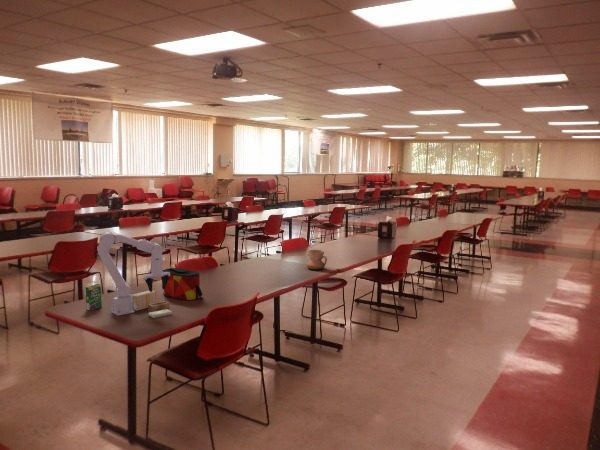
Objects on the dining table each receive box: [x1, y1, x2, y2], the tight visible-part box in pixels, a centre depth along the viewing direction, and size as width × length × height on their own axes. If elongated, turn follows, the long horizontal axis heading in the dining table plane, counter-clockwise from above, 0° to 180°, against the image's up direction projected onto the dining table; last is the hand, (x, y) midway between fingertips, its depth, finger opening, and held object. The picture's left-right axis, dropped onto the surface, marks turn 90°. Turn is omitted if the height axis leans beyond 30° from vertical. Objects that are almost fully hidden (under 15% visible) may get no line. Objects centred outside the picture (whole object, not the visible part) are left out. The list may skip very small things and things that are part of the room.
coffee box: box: [84, 283, 103, 312], centre depth 256 cm, size 8×3×13 cm, turn 151°
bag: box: [162, 267, 203, 302], centre depth 284 cm, size 30×14×16 cm, turn 59°
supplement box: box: [131, 289, 157, 311], centre depth 261 cm, size 8×5×13 cm
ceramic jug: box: [305, 249, 328, 271], centre depth 365 cm, size 18×14×14 cm
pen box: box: [147, 300, 170, 313], centre depth 255 cm, size 10×4×4 cm, turn 133°
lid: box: [147, 309, 173, 319], centre depth 249 cm, size 11×5×1 cm, turn 133°
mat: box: [147, 313, 173, 319], centre depth 249 cm, size 10×7×1 cm
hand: (157, 290), depth 258 cm, fingers open, 7 cm apart
